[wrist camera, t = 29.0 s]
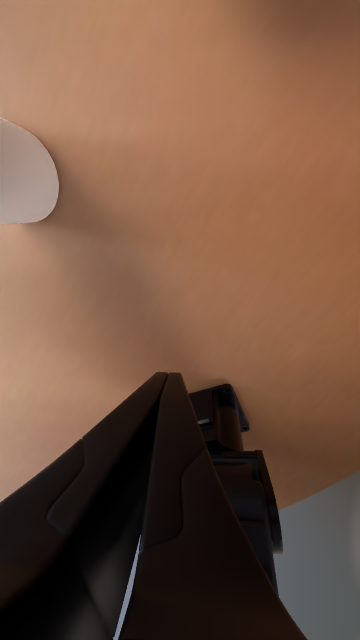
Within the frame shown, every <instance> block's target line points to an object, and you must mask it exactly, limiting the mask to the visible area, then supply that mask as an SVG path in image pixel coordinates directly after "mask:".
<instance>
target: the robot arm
mask: <svg viewBox="0 0 360 640" xmlns="http://www.w3.org/2000/svg"><path fill="white" fill-rule="evenodd" d="M226 388H228V390H226ZM249 429H250V427H249V423H248V421H247V419H246V417H245V414H244V412H243V410H242V408H241V406H240V403H239V401H238V399H237V397H236V395H235V393H234V390H233V388H232V386H231V385H230V384H223V385H220V386H216V387H212V388H209V389H205V390H201V391H198V392H194V393H191V394H188V392H187V389H186V387H185V384H184V381H183V378H182V375H181V373H174V372H171V373H168V372H157V373H155V374H154V375H153V376H152V377H151V378H150V379H148V380H147V381H146V382H145V383H144V384H143V385H142V386H140V387H139V388H138V389H137V390H136V391H135V392H134V393H132V394H131V395H130V396H129V397H128V398H127V399H126V400H124V401H123V402H122V403H121V404H120V405H119V406H118V407H116V408H115V409H114V410H113V411H112V412H111V413H110V414H108V415H107V416H106V417H105V418H104V419H103V420H102V421H100V422H99V423H98V424H97V425H96V426H95V427H94V428H92V429H91V430H90V431H89V432H88V433H87V434H85V435H84V436H83V437H82V439H80V440H78V441H77V442H76V443H75V444H74V445H73V446H72V447H70V448H69V449H68V450H67V451H66V452H65V453H63V454H62V455H61V456H60V457H59V458H57V459H56V460H55V461H54V462H53V463H51V464H50V465H49V466H48V467H46V468H45V469H44V470H42V471H41V472H40V473H39V474H37V475H36V476H35V477H33V478H32V479H31V480H30V481H28V482H27V483H26V484H24V485H23V486H22V487H20V488H19V489H18V490H16V491H15V492H14V493H12V494H11V495H10V496H8V497H7V498H6V499H4V500H3V501H2V502H0V640H113V637H114V636H115V632H116V628H117V624H118V620H119V616H120V613H121V609H122V604H123V601H124V597H125V593H126V589H127V585H128V581H129V577H130V574H131V570H132V566H133V562H134V558H135V554H136V550H137V546H138V542H139V538H140V535H141V539H140V546H139V551H140V552H139V554H138V560H137V567H136V573H135V578H134V583H133V588H132V594H131V597H130V601H129V604H128V608H127V611H126V614H125V618H124V621H123V625H122V628H121V631H120V635H119V639H118V640H307V638H306V637H305V636H304V634H303V633H302V632H301V630H300V629H299V627H298V626H297V625H296V623H295V622H294V621H293V619H292V618H291V616H290V615H289V613H288V612H287V610H286V608H285V607H284V605H283V603H282V602H281V600H280V598H279V595H278V588H277V581H276V574H275V567H274V560H273V553H274V554H282V553H283V544H282V536H281V527H280V521H279V515H278V509H277V504H276V499H275V495H274V491H273V487H272V484H271V480H270V477H269V473H268V470H267V466H266V463H265V459H264V456H263V453H262V450H255V451H244V449H243V442H242V435H241V432H246V431H248V430H249Z"/></svg>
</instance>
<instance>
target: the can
mask: <svg viewBox="0 0 360 640" xmlns="http://www.w3.org/2000/svg"><path fill="white" fill-rule="evenodd" d="M58 193H59V181H58V175H57V171H56V167H55V165H54V162H53V160H52V158H51V156H50V154H49V152H48V151H47V149H46V148H45V146H44V145H43V144H42V143H41V142H40V141H39V139H37V138H36V137H35V136H34V135H33V134H32V133H30V132H29V131H27V130H25V129H24V128H22V127H20V126H18V125H16V124H14V123H12V122H10V121H7V120H5V119H3V118H1V117H0V224H17V223H32V222H37V221H40V220H42V219H44V218H46V217H47V216H48V215H49V214H50V213H51V212H52V210H53V209H54V207H55V205H56V202H57V199H58Z"/></svg>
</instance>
